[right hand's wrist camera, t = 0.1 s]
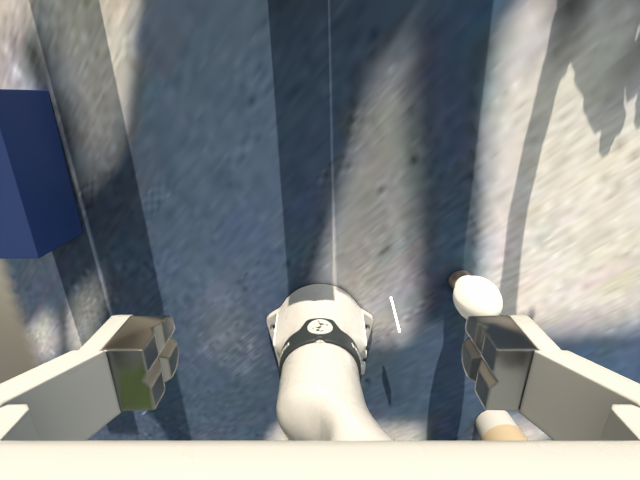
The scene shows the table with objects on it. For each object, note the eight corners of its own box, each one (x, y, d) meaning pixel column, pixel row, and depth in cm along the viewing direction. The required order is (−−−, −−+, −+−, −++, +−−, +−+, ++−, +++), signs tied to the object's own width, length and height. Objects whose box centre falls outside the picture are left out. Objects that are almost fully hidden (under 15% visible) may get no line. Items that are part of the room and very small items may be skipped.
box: (83, 233, 60) (38, 258, 51) (46, 233, 60) (-6, 258, 51) (48, 90, 52) (-12, 89, 43) (5, 90, 52) (-64, 89, 43)
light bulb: (437, 295, 64) (460, 332, 54) (446, 259, 62) (471, 291, 51) (476, 298, 64) (505, 336, 54) (485, 262, 62) (518, 295, 52)
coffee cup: (463, 415, 74) (496, 489, 60) (506, 397, 72) (551, 469, 58) (479, 443, 77) (515, 521, 63) (521, 427, 75) (568, 503, 61)
